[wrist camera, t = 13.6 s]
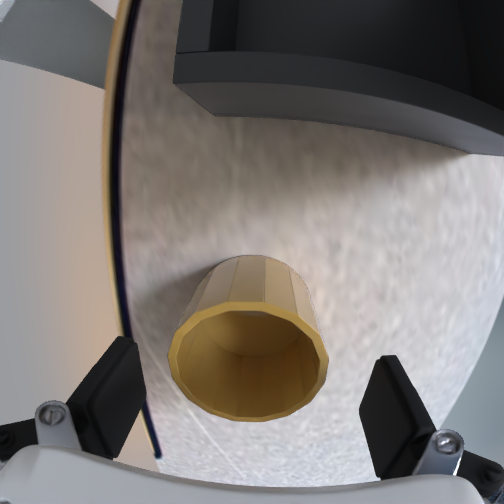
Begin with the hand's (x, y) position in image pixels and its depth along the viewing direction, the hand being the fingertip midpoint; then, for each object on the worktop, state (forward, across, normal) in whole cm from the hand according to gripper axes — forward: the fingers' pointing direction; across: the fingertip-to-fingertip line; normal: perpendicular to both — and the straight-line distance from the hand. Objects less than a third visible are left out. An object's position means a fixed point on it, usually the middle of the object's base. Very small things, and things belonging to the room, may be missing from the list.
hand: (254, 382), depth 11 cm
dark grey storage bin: (+5, -4, -18) cm, 19 cm away
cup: (+5, 0, 0) cm, 5 cm away
